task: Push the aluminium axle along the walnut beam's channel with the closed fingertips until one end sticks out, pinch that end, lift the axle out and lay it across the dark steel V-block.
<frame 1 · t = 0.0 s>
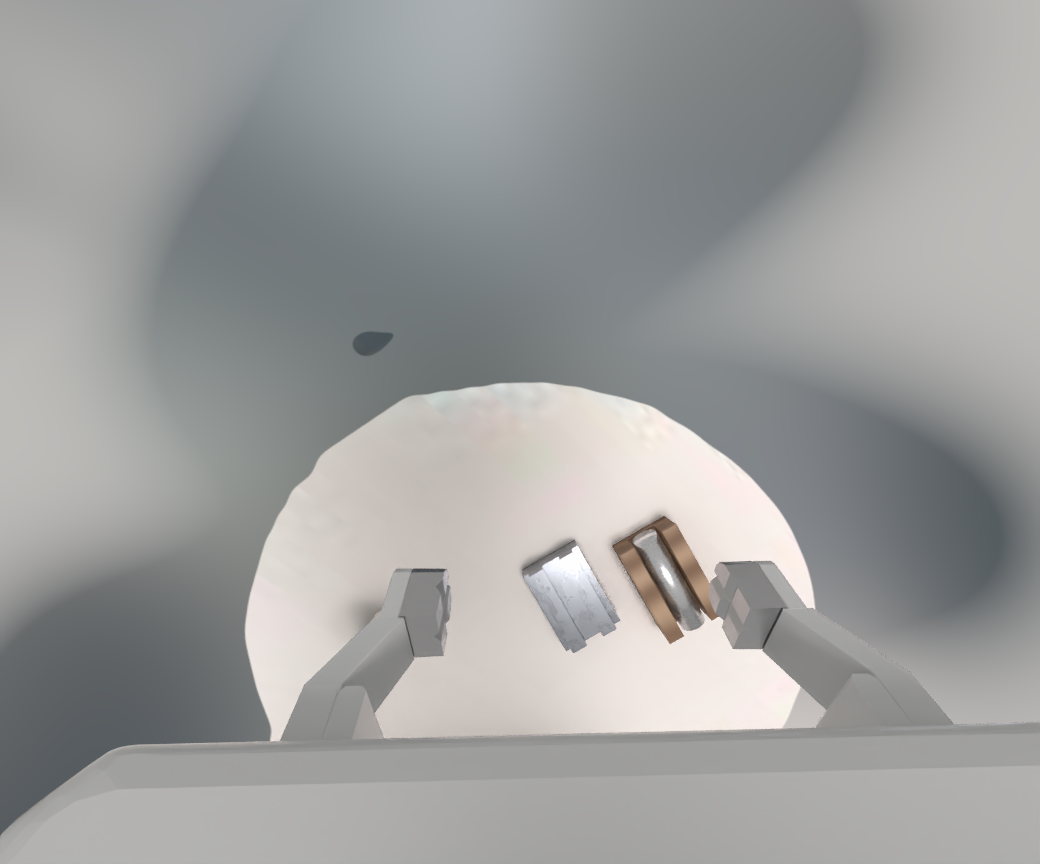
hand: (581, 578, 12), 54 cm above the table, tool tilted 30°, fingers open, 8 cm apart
v block: (569, 590, 67), on the table
axle: (663, 574, 66), point 1 cm above the table, touching beam
beam: (661, 572, 67), on the table
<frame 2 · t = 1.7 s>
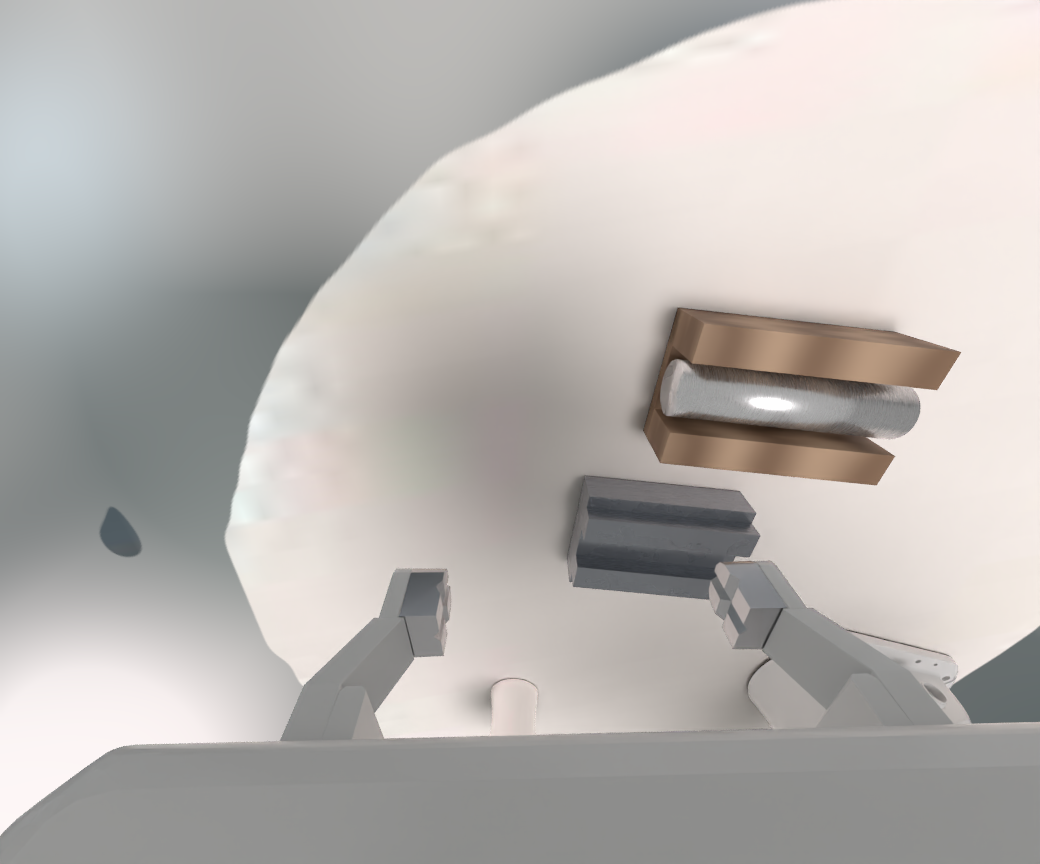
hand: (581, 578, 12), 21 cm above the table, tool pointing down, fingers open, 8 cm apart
v block: (648, 526, 38), on the table
axle: (767, 389, 30), point 1 cm above the table, touching beam
beam: (760, 384, 31), on the table
beer glass: (514, 690, 51), on the table
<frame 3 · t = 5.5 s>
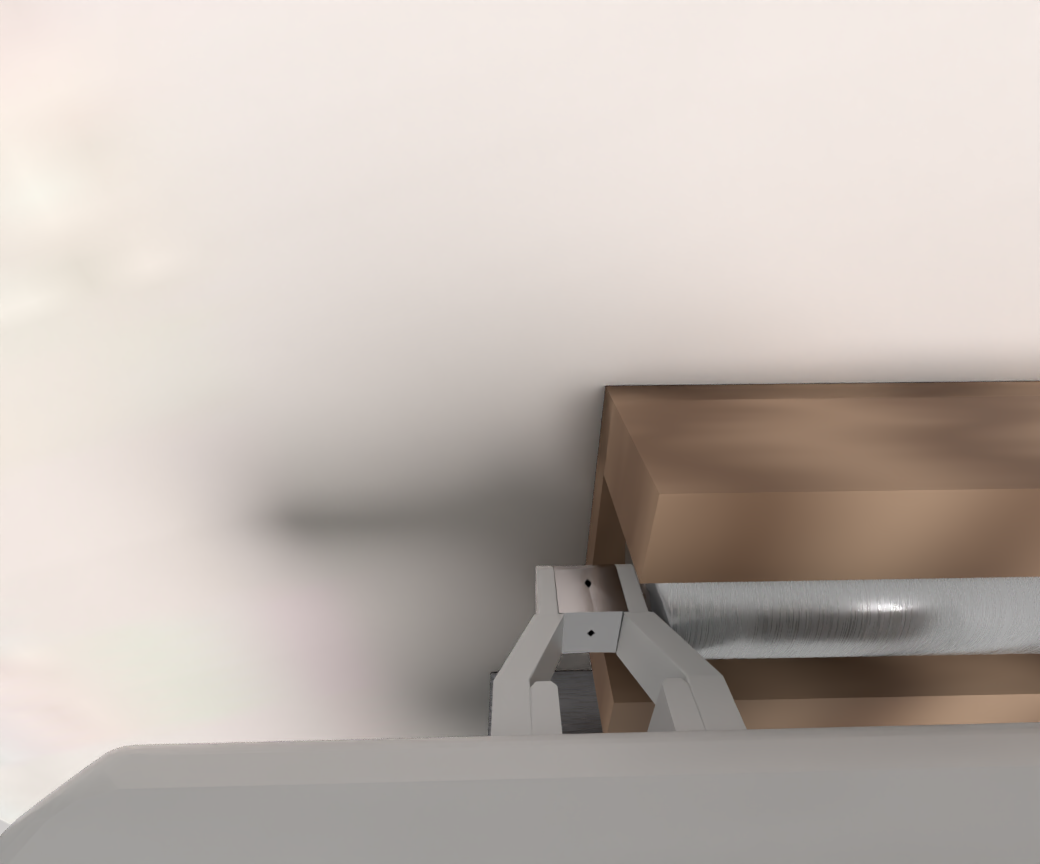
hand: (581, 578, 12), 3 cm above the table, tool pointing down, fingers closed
v block: (622, 721, 22), on the table
axle: (861, 530, 14), point 1 cm above the table, touching gripper
beam: (812, 511, 14), on the table
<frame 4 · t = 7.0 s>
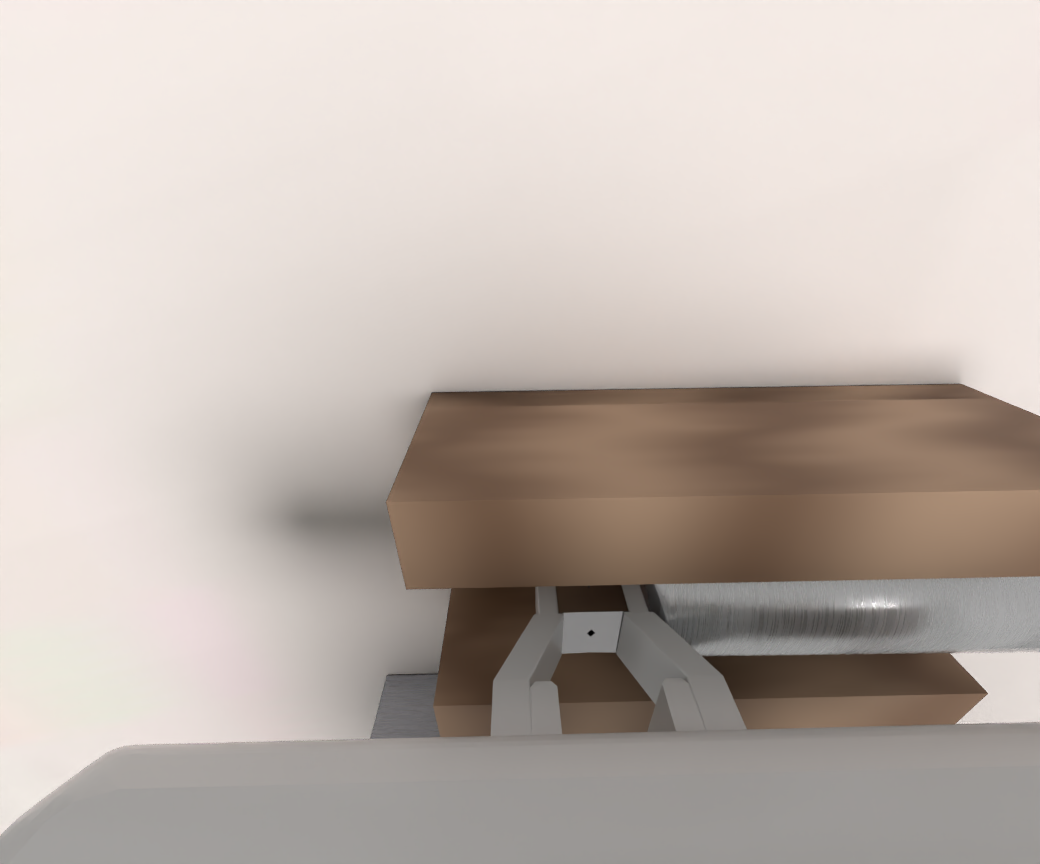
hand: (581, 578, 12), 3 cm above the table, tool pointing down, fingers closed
v block: (530, 723, 22), on the table
axle: (857, 530, 14), point 1 cm above the table, touching beam, gripper
beam: (668, 514, 15), on the table
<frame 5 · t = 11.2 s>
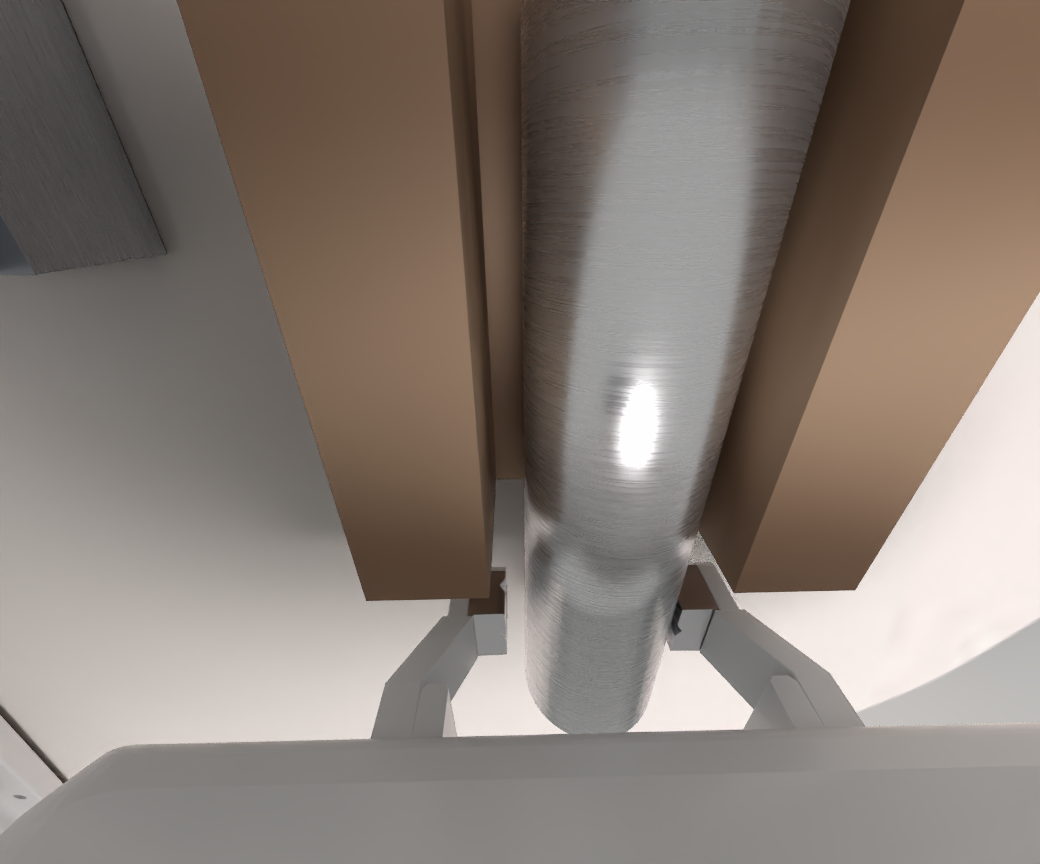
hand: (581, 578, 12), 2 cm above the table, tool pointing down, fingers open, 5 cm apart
axle: (586, 424, 11), point 1 cm above the table, tilted 8°, touching beam, gripper
beam: (600, 143, 8), on the table
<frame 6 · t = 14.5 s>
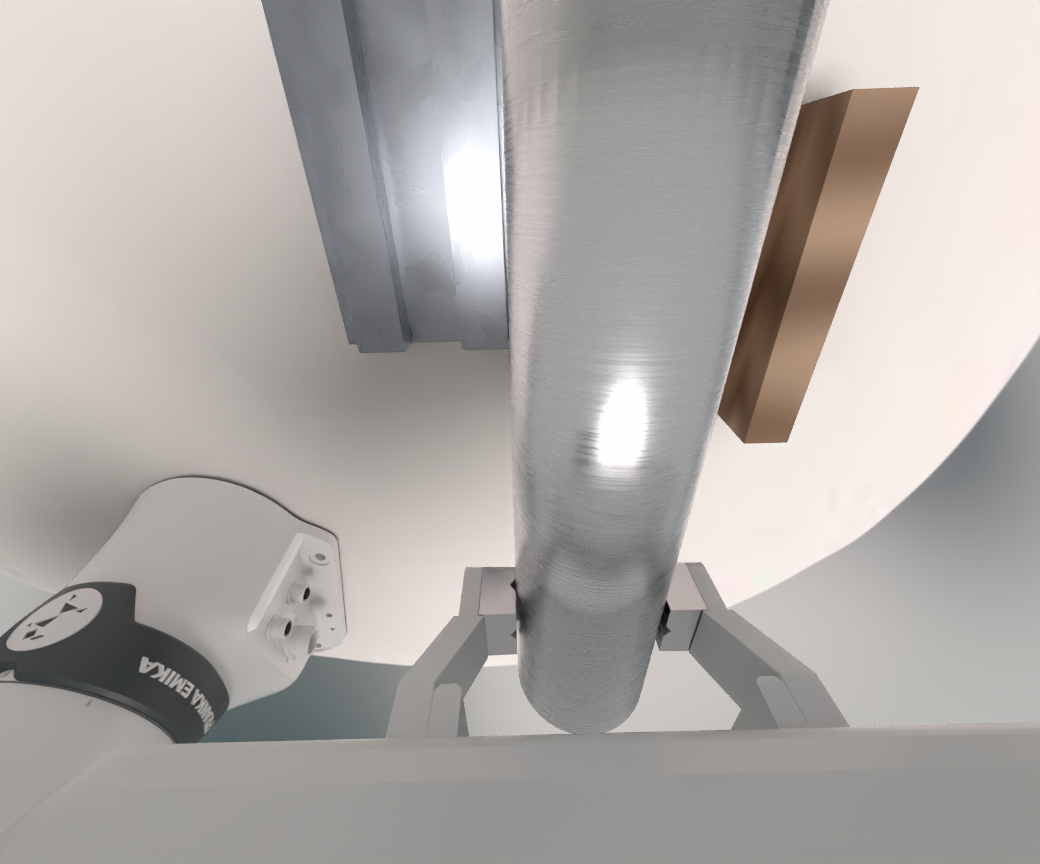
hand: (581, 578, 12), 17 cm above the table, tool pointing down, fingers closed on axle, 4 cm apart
v block: (430, 195, 21), on the table
axle: (584, 421, 11), point 15 cm above the table, touching gripper
beam: (695, 285, 24), on the table
when the fingers open (6 cm above the table, at t = 17.4 s): axle drops 1 cm, resting on v block.
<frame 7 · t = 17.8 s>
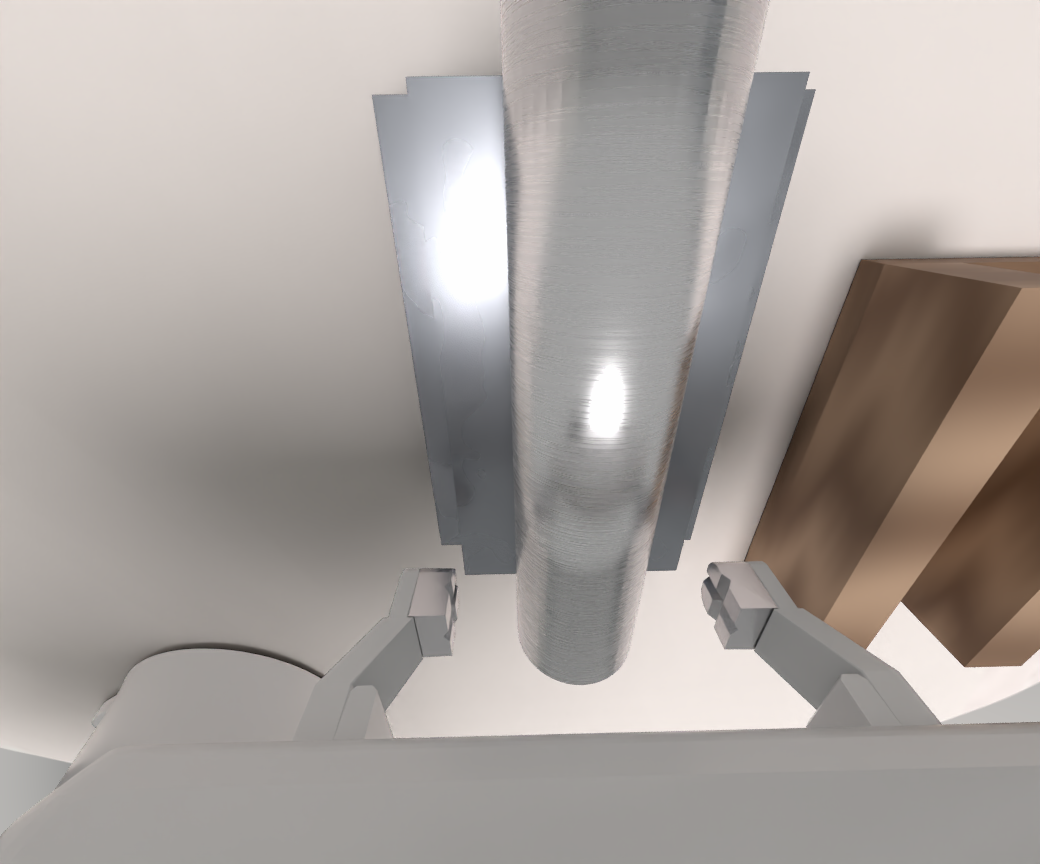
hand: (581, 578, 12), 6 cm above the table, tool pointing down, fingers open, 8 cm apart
v block: (565, 349, 15), on the table
axle: (568, 401, 12), point 4 cm above the table, tilted 9°, touching v block
beam: (897, 452, 18), on the table
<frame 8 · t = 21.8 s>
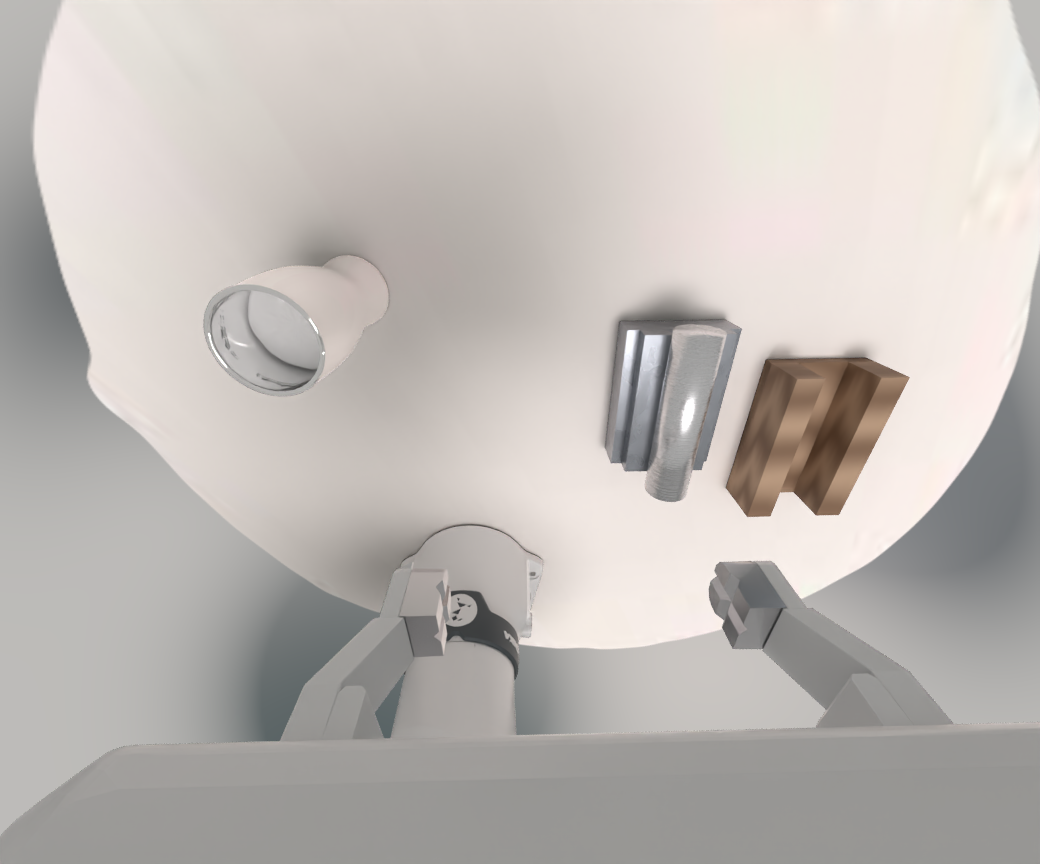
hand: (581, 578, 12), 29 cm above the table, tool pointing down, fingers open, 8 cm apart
v block: (660, 389, 41), on the table
axle: (669, 408, 38), point 4 cm above the table, tilted 10°, touching v block
beam: (789, 428, 44), on the table
beer glass: (355, 291, 36), on the table
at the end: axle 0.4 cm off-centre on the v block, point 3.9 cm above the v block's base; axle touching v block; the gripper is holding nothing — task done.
